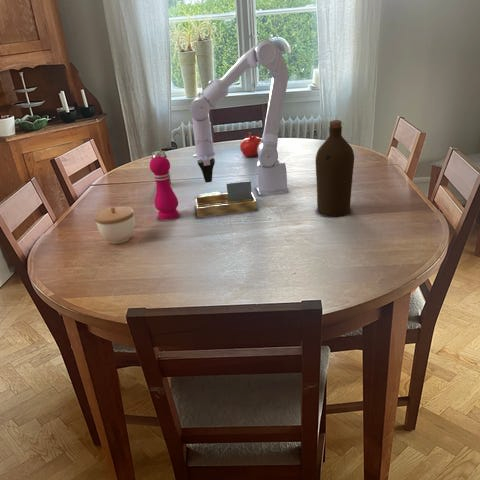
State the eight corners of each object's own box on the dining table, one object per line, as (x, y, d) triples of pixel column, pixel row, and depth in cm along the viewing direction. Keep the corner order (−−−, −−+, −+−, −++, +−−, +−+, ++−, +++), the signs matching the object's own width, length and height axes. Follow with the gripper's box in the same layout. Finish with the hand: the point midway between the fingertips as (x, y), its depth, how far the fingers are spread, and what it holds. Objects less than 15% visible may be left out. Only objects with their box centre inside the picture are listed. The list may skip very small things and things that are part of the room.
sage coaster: (220, 191, 163) (222, 198, 157) (220, 193, 164) (222, 200, 158) (198, 193, 163) (199, 201, 157) (198, 196, 163) (200, 203, 157)
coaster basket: (252, 199, 156) (251, 190, 154) (256, 211, 147) (256, 201, 145) (196, 206, 155) (194, 197, 153) (197, 218, 146) (196, 208, 144)
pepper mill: (184, 213, 151) (174, 147, 140) (174, 221, 145) (162, 154, 134) (163, 212, 153) (152, 147, 142) (153, 220, 147) (140, 154, 137)
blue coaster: (252, 203, 151) (250, 180, 147) (252, 204, 151) (250, 181, 147) (228, 206, 151) (226, 183, 147) (228, 207, 150) (226, 184, 146)
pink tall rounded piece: (160, 189, 174) (154, 155, 167) (154, 186, 177) (148, 152, 171) (173, 185, 176) (168, 152, 169) (167, 182, 180) (161, 149, 173)
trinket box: (120, 249, 131) (112, 216, 126) (93, 243, 136) (84, 212, 131) (146, 234, 139) (139, 203, 134) (119, 229, 144) (112, 199, 139)
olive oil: (355, 216, 137) (359, 123, 123) (317, 219, 137) (318, 127, 124) (348, 203, 146) (351, 115, 132) (313, 206, 146) (313, 119, 133)
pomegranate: (264, 157, 198) (263, 134, 193) (240, 159, 198) (238, 136, 193) (264, 151, 206) (262, 128, 201) (241, 153, 206) (239, 130, 201)
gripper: (190, 135, 158) (195, 176, 166) (191, 146, 146) (197, 189, 154) (211, 133, 159) (216, 174, 166) (214, 143, 147) (219, 187, 154)
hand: (208, 181), depth 160 cm, fingers closed
